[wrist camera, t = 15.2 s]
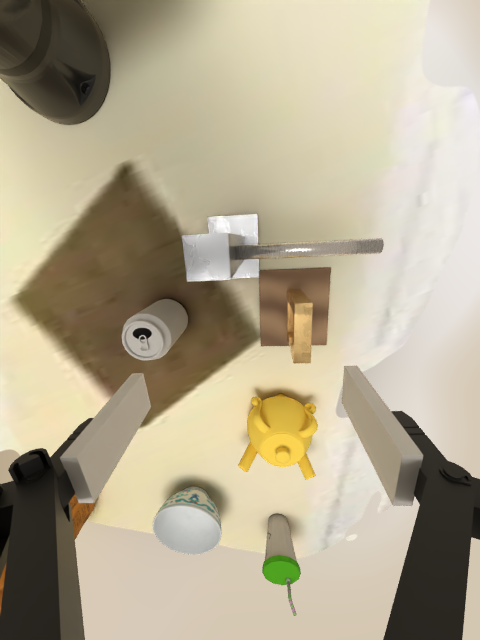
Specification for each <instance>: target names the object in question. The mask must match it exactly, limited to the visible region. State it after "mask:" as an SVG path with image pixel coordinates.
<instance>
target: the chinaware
mask: <svg viewBox="0 0 480 640" xmlns="http://www.w3.org/2000/svg"><path fill="white" fill-rule="evenodd" d="M153 531H154V533H155V535H156V537H157V538H158V540H159V541H160V542H161V543H162V544H163V545H165V546H166V547H168V548H170V549H172V550H174V551H176V552H179V553H184V554H193V555H195V554H203V553H206V552H209V551H211V550H212V549H214V548H215V547H216V546H217V545H218V544H219V542H220V539H221V521H220V516H219V512H218V510H217V507H216V505H215V504H214V502H213V501H212V500H211V498H210V497H209V496H208V494H207V492H206V491H205V490H203V489H201V488H199V487H188V488H186V489H185V490H183V491H180V492H178V493H176V494H174V495H173V496H171V497H170V498H169V499H168V500H167V501H166V502H165V503H164V504H163V506H162V507H161V508H160V510H159V511H158V513H157V515H156V516H155V518H154V521H153Z"/></svg>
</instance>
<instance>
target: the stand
mask: <svg viewBox="0 0 480 640" xmlns="http://www.w3.org/2000/svg"><path fill="white" fill-rule="evenodd" d="M208 229H209V234H195V235H182V241H183V250H184V259H185V267H186V276H187V281H211V280H231V279H232V278H255V277H259V259H267V258H289V257H310V256H332V255H354V254H375V253H381V252H382V250H383V245H384V244H383V239H382V238H376V239H356V240H336V241H317V242H297V243H278V244H258V218H257V214H248V215H232V216H215V217H208Z"/></svg>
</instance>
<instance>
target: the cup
mask: <svg viewBox="0 0 480 640" xmlns="http://www.w3.org/2000/svg"><path fill="white" fill-rule="evenodd" d="M263 574H264V576H265V578H266V579H267V580H269V581H270V582H272V583H275V584H281V585H286V584H287V587H288V598H289V603H290V606H291V609H292V612H293V615H294V616H295V615H296V612H295V609H294V606H293V603H292V599H291V589H290V584H292V583H294V582H295V581H297V580H298V579H299V577H300V574H301V573H300V567H299V565H298V563H297V561H296V556H295V552H294V547H293V543H292V539H291V534H290V530H289V525H288V521H287V519H286V517H285V516H283V515H281V514H274V515H272V516H270V517H269V522H268V533H267V544H266V556H265V561H264V564H263Z"/></svg>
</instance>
